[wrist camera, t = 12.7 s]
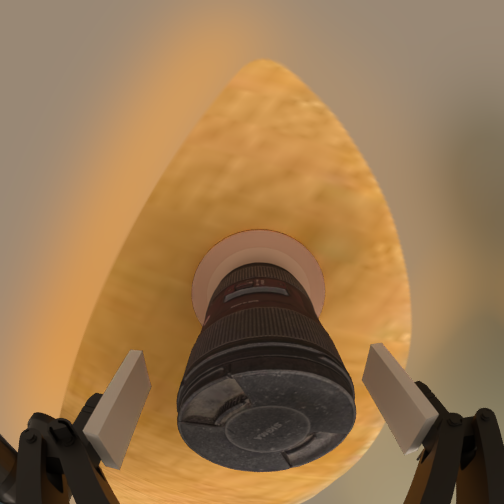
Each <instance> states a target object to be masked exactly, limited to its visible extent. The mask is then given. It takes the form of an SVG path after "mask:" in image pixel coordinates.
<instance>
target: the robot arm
mask: <svg viewBox="0 0 504 504" xmlns="http://www.w3.org/2000/svg"><path fill="white" fill-rule="evenodd" d="M362 381H363V383H364V384H365V386H366V388H367V390H368V391H369V393H370V395H371V396H372V398H373V400H374V402H375V403H376V405H377V407H378V409H379V410H380V412H381V414H382V416H383V417H384V419H385V421H386V423H387V424H388V426H389V428H390V430H391V432H392V433H393V435H394V437H395V439H396V441H397V442H398V444H399V446H400V448H401V449H402V451H403V453H404V455H406V454H409V453H412V452H414V451H417V450H418V448H419V446H420V445H421V444H423V446H424V449H423V451H422V452H421V454H420V455H419V457H418V458H417V460H419V459H420V461H419V464H418V467H417V470H416V473H415V475H414V478H413V481H412V484H411V486H410V489H409V492H408V494H407V496H406V499H405V501H404V503H403V504H450V503H451V499H452V496H453V492H454V487H455V484H456V504H504V445H503V441H502V438H501V433H500V430H499V426H498V423H497V419H496V416H495V414H494V412H493V411H492V410H490V409H488V408H481V409H479V410H478V411H477V413H476V414H475V416H473V417H466V418H463V417H462V416H461V415H459V414H457V413H449V412H448V411H447V410H446V409H445V407H444V406H443V405H442V404H441V402H440V401H439V400H438V399H437V398H436V397H435V395H434V394H433V393H432V392H431V390H430V389H429V388H428V387H427V385H425V384H424V383H422V382H420V381H417V382H413V380H412V379H411V378H410V377H409V375H408V374H407V373H406V372H405V370H404V369H403V368H402V367H401V366H400V364H399V363H398V362H397V361H396V359H395V358H394V357H393V356H392V355H391V353H390V352H389V351H388V350H387V349H386V347H385V346H384V345H383V344H382V343H377V344H371V345H370V350H369V354H368V358H367V362H366V366H365V370H364V374H363V378H362ZM150 389H151V384H150V380H149V376H148V372H147V368H146V364H145V360H144V356H143V351H139V350H130V351H129V353H128V354H127V356H126V358H125V359H124V361H123V362H122V364H121V366H120V367H119V369H118V371H117V372H116V374H115V375H114V377H113V379H112V380H111V382H110V384H109V386H108V387H107V389H106V391H105V392H104V394H99V393H95V394H94V395H92V396H91V397H90V398H89V399H88V400H87V402H86V404H85V406H84V407H83V408H82V410H81V412H80V413H79V415H78V417H77V418H76V420H75V422H74V423H73V425H72V424H71V422H70V421H68V420H67V419H63V418H58V419H55V418H53V417H51V416H49V415H46V414H43V413H39V412H37V413H34V414H33V415H32V417H31V418H30V419H29V421H28V428H27V429H26V430H24V431H23V432H22V433H21V435H20V440H19V449H18V452H17V451H16V450H15V449H14V448H13V447H12V446H11V445H10V444H9V443H8V442H7V441H6V440H5V439H4V438H3V437H2V436H1V434H0V504H69V501H70V499H71V496H72V495H73V497H74V499H75V502H76V504H120V503H119V501H118V500H117V498H116V496H115V495H114V493H113V491H112V489H111V487H110V485H109V484H108V482H107V480H106V478H105V476H104V474H103V472H102V470H101V468H100V467H99V463H100V461H101V460H102V462H103V463H104V465H105V466H107V467H111V468H115V469H119V470H120V468H121V465H122V462H123V459H124V456H125V454H126V451H127V448H128V445H129V443H130V440H131V437H132V435H133V432H134V429H135V427H136V424H137V422H138V419H139V416H140V414H141V411H142V409H143V406H144V404H145V401H146V399H147V396H148V394H149V391H150Z"/></svg>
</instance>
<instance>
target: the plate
mask: <svg viewBox="0 0 504 504" xmlns="http://www.w3.org/2000/svg"><path fill="white" fill-rule="evenodd" d="M254 262H263V263H271V264H274V265H277V266H280V267H282V268H284V269H286V270H287V271H289V272H290V273H291V274H292V275H293V276H294V277H295V278H296V279H297V280H298V281H299V282H300V284H301V285H302V286H303V287H304V289H305V290H306V292H307V294H308V296H309V298H310V300H311V302H312V304H313V307H314V310H315V313H316V315H317V317H318V318H319V316H320V313H321V311H322V308H323V304H324V299H325V283H324V278H323V274H322V271H321V269H320V267H319V264H318V263H317V261H316V259H315V258H314V257H313V255H312V254H311V253H310V252H309V251H308V250H307V249H306V248H305V247H304V246H303V245H302V244H301V243H299V242H298V241H296V240H295V239H293V238H291V237H289V236H287V235H285V234H282V233H279V232H276V231H270V230H248V231H243V232H239V233H236V234H233V235H231V236H229V237H227V238H225V239H223V240H222V241H220V242H219V243H217V244H216V245H215V246H214V247H213V248H211V249H210V250H209V252H208V253H207V254H206V255H205V256H204V258H203V259H202V261H201V263H200V264H199V266H198V268H197V270H196V273H195V276H194V279H193V284H192V302H193V307H194V311H195V314H196V316H197V318H198V320H199V322H200V323H201V325H202V327H203V324H204V320H205V315H206V311H207V308H208V305H209V302H210V299H211V297H212V295H213V293H214V291H215V289H216V288H217V286H218V285H219V283H220V282H221V280H222V279H223V278H224V277H225V276H226V275H227V274H228V273H229V272H231V271H232V270H234V269H235V268H237V267H240V266H242V265H245V264H249V263H254Z"/></svg>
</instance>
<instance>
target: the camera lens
mask: <svg viewBox="0 0 504 504" xmlns="http://www.w3.org/2000/svg"><path fill="white" fill-rule="evenodd" d="M354 400H355V392H354V385H353V382H352V379H351V377H350V375H349V373H348V372H347V370H346V368H345V366H344V364H343V362H342V360H341V358H340V355H339V353H338V351H337V349H336V347H335V345H334V343H333V341H332V339H331V338H330V336H329V334H328V333H327V332H326V330H325V329H324V328H323V326H322V325H321V323H320V321H319V319H318V317H317V315H316V313H315V310H314V307H313V304H312V302H311V300H310V298H309V296H308V294H307V292H306V290H305V289H304V287H303V286H302V285H301V284H300V282H299V281H298V280H297V279H296V278H295V277H294V276H293V275H292V274H291V273H290V272H289V271H287V270H286V269H284V268H282V267H280V266H277V265H274V264H271V263H263V262H254V263H249V264H245V265H242V266H240V267H237V268H235V269H234V270H232V271H231V272H229V273H228V274H227V275H226V276H225V277H224V278H223V279H222V280H221V282H220V283H219V285H218V286H217V288H216V289H215V291H214V293H213V295H212V297H211V299H210V302H209V305H208V308H207V311H206V315H205V320H204V324H203V327H202V330H201V334H200V335H199V336H198V338H197V341H196V343H195V344H194V346H193V348H192V351H191V354H190V357H189V360H188V363H187V366H186V370H185V373H184V376H183V379H182V382H181V385H180V388H179V392H178V395H177V412H178V418H177V425H178V430H179V432H180V434H181V437H182V439H183V440H184V441H185V443H186V444H187V445H188V446H189V447H190V448H191V449H192V450H193V451H195V452H196V453H197V454H198V455H200V456H201V457H203V458H205V459H207V460H209V461H211V462H213V463H215V464H218V465H220V466H223V467H227V468H231V469H235V470H242V471H251V472H271V471H280V470H286V469H289V468H292V467H298V466H301V465H304V464H307V463H309V462H311V461H314V460H316V459H318V458H320V457H322V456H324V455H325V454H327V453H329V452H330V451H332V450H333V449H334V448H336V447H337V446H338V445H339V444H340V443H341V442H342V441H343V440H344V439H345V438H346V436H347V435H348V434H349V432H350V431H351V430H352V427H353V425H354V423H355V419H356V405H355V402H354Z"/></svg>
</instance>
